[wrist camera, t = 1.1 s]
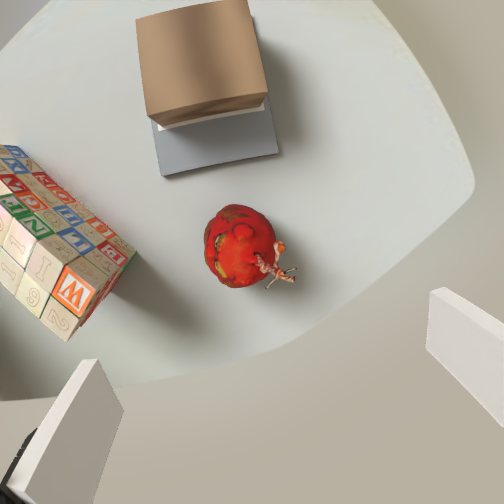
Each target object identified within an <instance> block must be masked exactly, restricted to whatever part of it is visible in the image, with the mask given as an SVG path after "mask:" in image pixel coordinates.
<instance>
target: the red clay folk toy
mask: <svg viewBox="0 0 504 504" xmlns="http://www.w3.org/2000/svg"><path fill="white" fill-rule="evenodd" d="M204 244H205V251H204V256H205V262H206V264H207V265H208V266H209V268H210V270H211V271H212V272H213V273H214V274H215V275H217V277H218V279H219V281H220V282H221V283H222V284H225V285H227V286H228V287H230V288H241V287H246V286H250V285H252V284H255V283H256V282H258V281H260V280H262V279H264V278H265V277H266V276H267V275H268V274H269V273H272V274H273V275H274V279H273V280H271V281H270V282H269V284H268V285H267V286H266V289H269V286H270V285H271V284H272V283H273V282H274V281H277V280H278V279H279V280H280V279H283V280H285V281H288V282H294V280H295V279H296V277H295V276H292V277H286V276H285V275H284V274H286V273H288V272H290V271H293V270H296V269H297V268H296V267H295V268H292V269H289V270H287V271H285V272H283V270H282V269H280V268H278V259H279V256H280V254H281V253H282V252H283V251H285V247H286V246H285V245H284V244H283V243H282V242H281V241H278V240H277V241H276V237H275V233H274V231H273V228H272V226H271V224H270V223H269V221H268V220H267V219H266V218H265V216H264V215H262V214H261V213H259V212H257V211H255V210H254V209H252V208H250V207H247V206H244V205H238V204H231V205H228V206H225V207H224V208H223V209H222V210H221V211H219V212H218V213H217V215H216V217H215V218H213V219H212V220H210V221H209V223H208V225H207V227H206V229H205V234H204ZM274 261H275V263H274ZM273 264H274V265H275V268H273V267H272V266H273Z"/></svg>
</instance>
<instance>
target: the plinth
mask: <svg viewBox="0 0 504 504" xmlns="http://www.w3.org/2000/svg"><path fill="white" fill-rule="evenodd" d="M136 31H137V41H138V51H139V60H140V68H141V76H142V84H143V91H144V98H145V105H146V111H147V116H148V117H149V118H151V119H152V120H154V121H155V122H156V123H158V124H159V125H160V126H166V125H170V124H174V123H178V122H183V121H187V120H192V119H196V118H201V117H206V116H211V115H216V114H221V113H226V112H232V111H238V110H244V109H250V108H257V107H260V106H261V104H262V102H263V100H264V99H265V97H266V95H267V93H268V89H267V84H266V79H265V75H264V70H263V65H262V61H261V56H260V52H259V48H258V43H257V39H256V35H255V31H254V26H253V22H252V18H251V14H250V10H249V6H248V2H247V0H223V1H216V2H209V3H204V4H198V5H193V6H188V7H183V8H178V9H174V10H170V11H166V12H162V13H158V14H154V15H150V16H147V17H143V18H140V19H136Z"/></svg>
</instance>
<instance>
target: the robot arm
mask: <svg viewBox="0 0 504 504" xmlns="http://www.w3.org/2000/svg"><path fill="white" fill-rule="evenodd" d="M426 349H427V350H428V351H429V352H430V353H431V354H432V355H433V356H434V357H435V358H436V359H437V360H438V361H439V362H440V363H441V364H442V365H443V366H444V367H445V368H446V369H447V370H448V371H449V372H450V373H451V374H452V375H453V376H454V377H455V378H456V379H457V380H458V381H459V382H460V383H461V384H462V385H463V386H464V387H465V388H466V389H467V390H468V391H469V392H470V393H471V394H472V396H473V397H474V398H475V399H476V400H477V401H478V402H479V403H480V404H481V405H482V406H483V407H484V408H485V409H486V410H487V411H488V412H489V413H490V414H491V416H492V417H493V418H494V419H495V420H496V421H497V422H498V423H499V424H500V425H501V426H502V427H503V428H504V324H503V323H502V322H500V321H499V320H497V319H495V318H494V317H493V316H491V315H489V314H488V313H486V312H485V311H483V310H482V309H480V308H478V307H477V306H475V305H473V304H472V303H470V302H469V301H467V300H465V299H464V298H462V297H461V296H459V295H457V294H456V293H454V292H452V291H451V290H449V289H447V288H446V287H442V288H439V289H436V290H433V291H430V303H429V318H428V330H427V340H426ZM123 412H124V410H123V408H122V406H121V404H120V402H119V400H118V399H117V397H116V395H115V393H114V391H113V389H112V387H111V385H110V383H109V381H108V379H107V377H106V375H105V373H104V371H103V369H102V367H101V364H100V362H99V360H98V359H87V360H82V361H81V363H80V364H79V366H78V367H77V368H76V370H75V371H74V373H73V374H72V376H71V377H70V379H69V380H68V382H67V383H66V385H65V386H64V388H63V389H62V391H61V393H60V394H59V396H58V397H57V399H56V400H55V402H54V403H53V405H52V407H51V408H50V410H49V411H48V413H47V415H46V416H45V418H44V419H43V421H42V423H41V424H40V426H39V428H36V429H35V430H34V431H33V432H32V433H31V434H30V435H28V437H27V438H26V439H25V441H24V443H23V444H22V446H21V449H20V450H19V451H18V453H17V457H15V458H14V460H13V462H12V463H11V465H10V467H9V469H8V471H7V473H6V474H5V476H4V478H3V480H2V482H1V484H0V504H93V500H94V497H95V493H96V490H97V487H98V484H99V481H100V478H101V475H102V472H103V469H104V466H105V463H106V460H107V457H108V454H109V451H110V448H111V446H112V442H113V440H114V437H115V434H116V431H117V429H118V426H119V423H120V421H121V418H122V415H123Z"/></svg>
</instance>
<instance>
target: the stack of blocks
mask: <svg viewBox="0 0 504 504" xmlns="http://www.w3.org/2000/svg"><path fill="white" fill-rule="evenodd" d="M135 253H136V250H134V249H133V248H132V247H131V246H129V245H128V244H127V243H126V242H124V241H123V240H122V239H121V238H120V237H118V236H117V235H116V233H115V232H114V231H112V230H111V229H110V228H109V227H108V226H106V225H105V224H104V223H103V222H102V221H100V220H99V219H98V218H97V217H96V216H95V215H93V214H92V213H91V212H90V211H89V210H88V209H87V208H85V207H84V206H83V205H82V204H81V203H79V202H77V201H76V200H75V199H74V198H72V197H71V196H70V195H69V194H68V193H67V192H66V191H64V190H63V189H62V188H61V187H59V186H58V185H57V184H56V183H55V182H54V181H53V180H52V179H50V178H49V177H48V176H47V175H46V174H45V173H44V171H43V170H42V169H41V168H40V167H39V166H38V165H37V164H36V163H35V162H34V161H32V160H31V159H30V158H29V157H28V156H27V155H26V154H25V153H24V152H23V151H22V150H21V149H20V148H19V147H17V146H11V145H0V282H1V283H2V284H3V285H4V286H5V287H6V288H7V289H8V290H9V291H10V292H11V293H12V294H13V295H15V297H16V298H17V299H18V300H19V301H20V302H21V303H22V304H23V305H24V306H25V307H26V308H27V309H28V310H29V311H30V312H32V313H33V314H34V315H35V316H36V317H37V318H39V319H40V320H41V322H42V323H43V324H44V325H45V326H47V327H48V328H49V329H50V330H51V331H52V332H54V333H55V334H56V335H57V336H58V337H60V338H61V339H62V340H63V341H65V342H67V341H68V340H69V339H70V338H71V336H72V335H73V334H74V333H75V331H76V330H77V329H78V327H79V326H80V327H81V326H82V325H83V324H84V323H85V322H86V320H87V319H88V318H89V317H90V315H91V314H92V313H93V311H94V310H95V309H96V307H97V306H98V305H99V304H100V302H101V301H102V300H103V299H104V298H105V297H106V296H107V295H108V293H109V292H110V291H111V289H112V288H113V286H114V285H115V283H116V282H117V280H118V279H119V277H120V276H121V274H122V272H123V271H124V269H125V268H126V266H127V265H128V263H129V262H130V260H131V259H132V258H133V256H134V255H135Z"/></svg>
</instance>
